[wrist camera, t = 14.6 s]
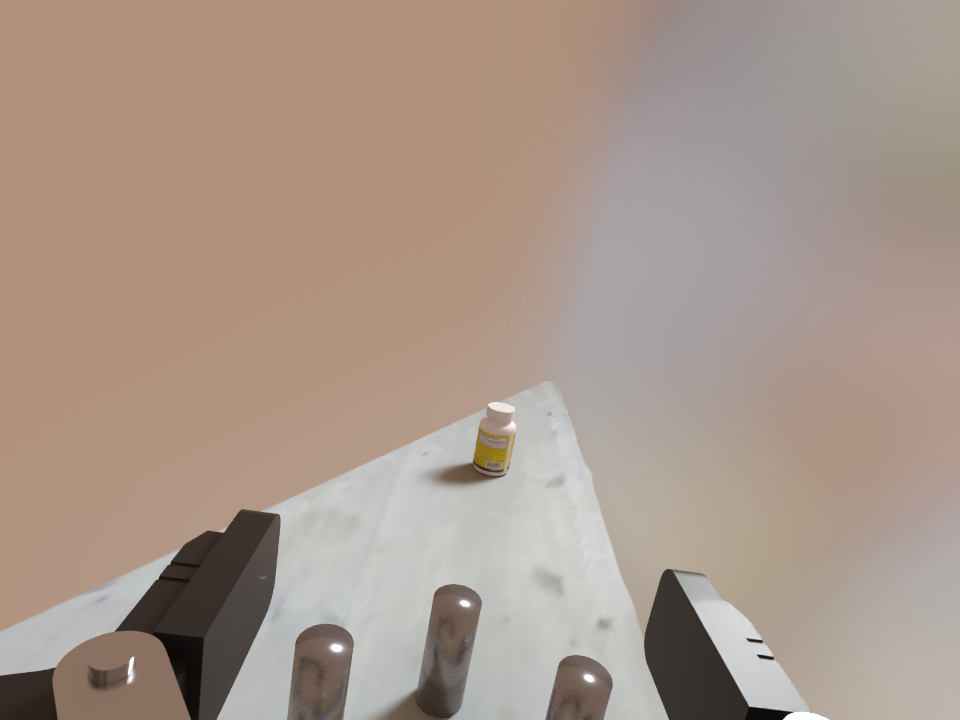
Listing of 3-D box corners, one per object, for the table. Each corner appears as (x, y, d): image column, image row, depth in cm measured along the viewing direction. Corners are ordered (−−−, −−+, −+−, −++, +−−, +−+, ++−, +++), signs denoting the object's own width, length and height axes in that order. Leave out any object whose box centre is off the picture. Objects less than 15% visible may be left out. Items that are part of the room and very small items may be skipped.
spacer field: (651, 918, 34) (692, 798, 32) (242, 879, 33) (254, 750, 30) (593, 698, 49) (618, 606, 47) (312, 664, 48) (324, 566, 45)
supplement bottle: (489, 457, 92) (500, 398, 90) (515, 472, 89) (528, 411, 86) (464, 464, 88) (475, 403, 86) (491, 480, 85) (503, 416, 82)
